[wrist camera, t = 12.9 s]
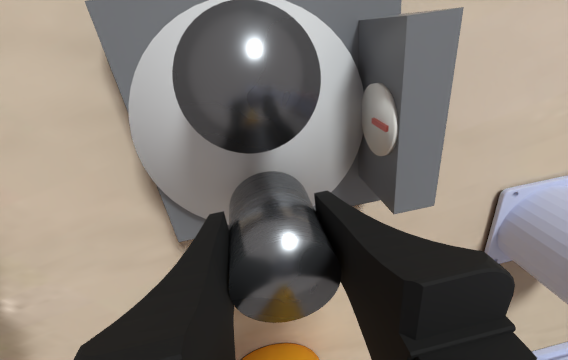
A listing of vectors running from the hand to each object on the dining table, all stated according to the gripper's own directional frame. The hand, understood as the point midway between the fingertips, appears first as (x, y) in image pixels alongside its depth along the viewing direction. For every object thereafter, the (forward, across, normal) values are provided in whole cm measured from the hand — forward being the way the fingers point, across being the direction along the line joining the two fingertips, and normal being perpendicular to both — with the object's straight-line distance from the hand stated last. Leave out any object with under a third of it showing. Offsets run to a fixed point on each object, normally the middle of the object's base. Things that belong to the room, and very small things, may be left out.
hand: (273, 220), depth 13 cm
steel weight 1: (+3, 0, -6) cm, 7 cm away
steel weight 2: (+2, 0, 0) cm, 2 cm away
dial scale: (+6, -1, -3) cm, 7 cm away
